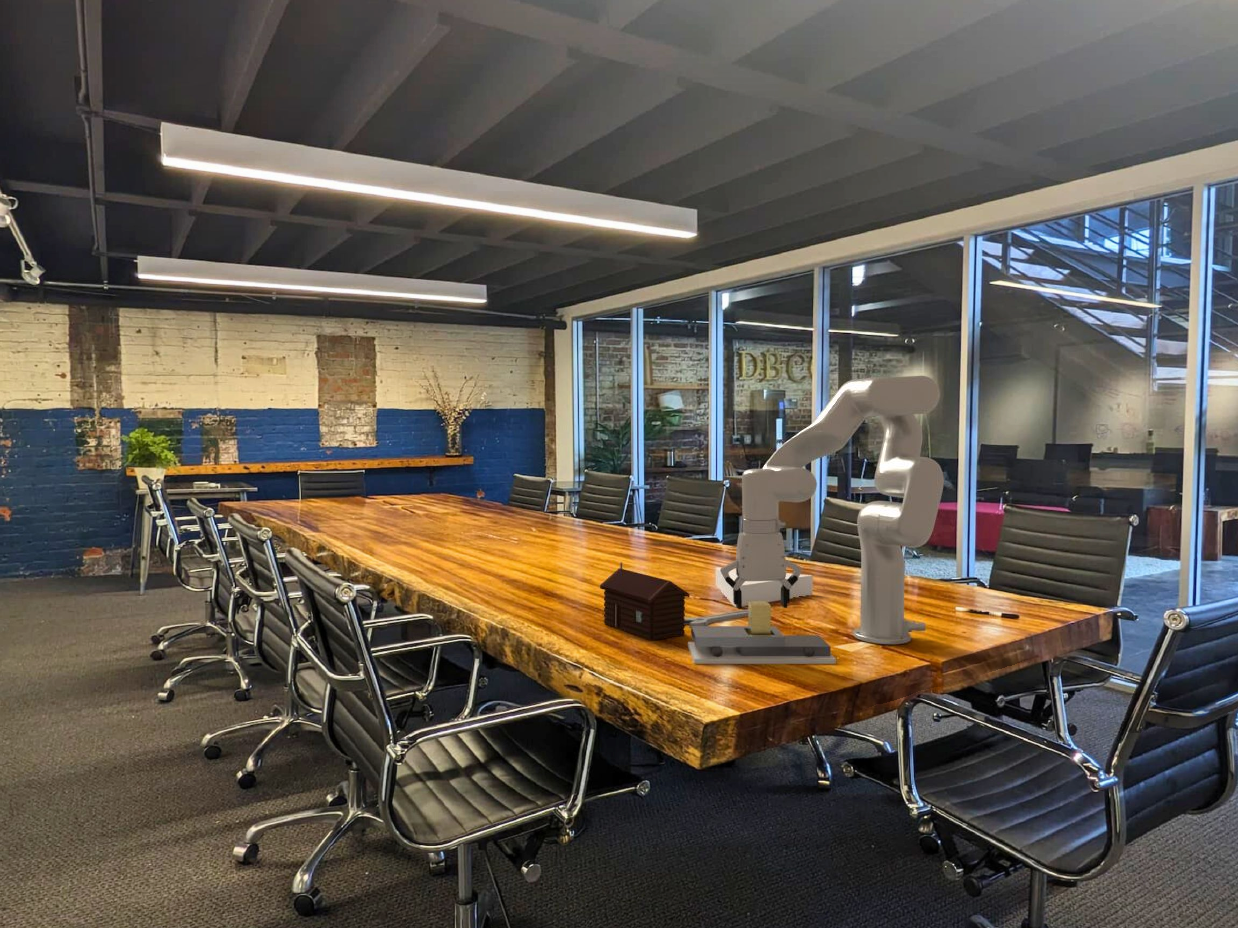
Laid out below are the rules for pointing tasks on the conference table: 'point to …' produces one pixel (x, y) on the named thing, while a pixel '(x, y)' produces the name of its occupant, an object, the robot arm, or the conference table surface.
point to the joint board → (750, 657)
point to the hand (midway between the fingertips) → (761, 607)
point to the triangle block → (763, 588)
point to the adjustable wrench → (715, 618)
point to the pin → (759, 618)
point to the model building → (644, 605)
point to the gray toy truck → (758, 642)
